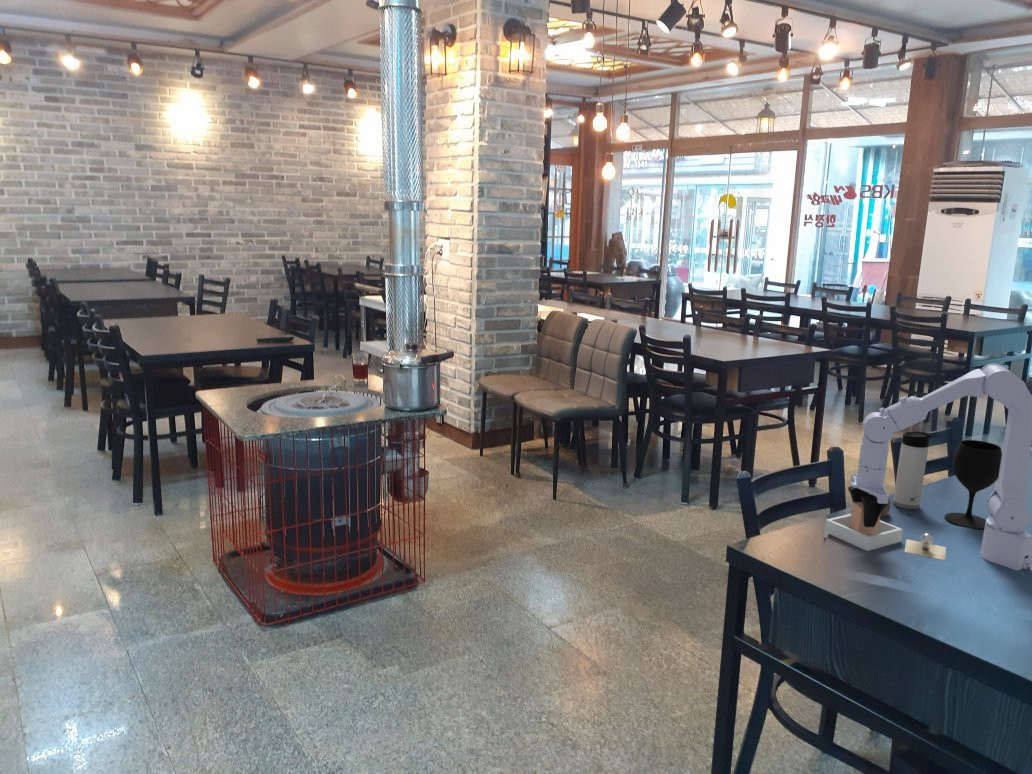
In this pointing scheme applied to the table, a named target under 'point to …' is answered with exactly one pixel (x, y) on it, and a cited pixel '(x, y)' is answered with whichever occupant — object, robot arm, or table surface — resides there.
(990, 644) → the table surface
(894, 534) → the bin
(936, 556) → the base
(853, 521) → the block
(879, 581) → the table surface
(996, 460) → the wine glass
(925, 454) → the travel mug
